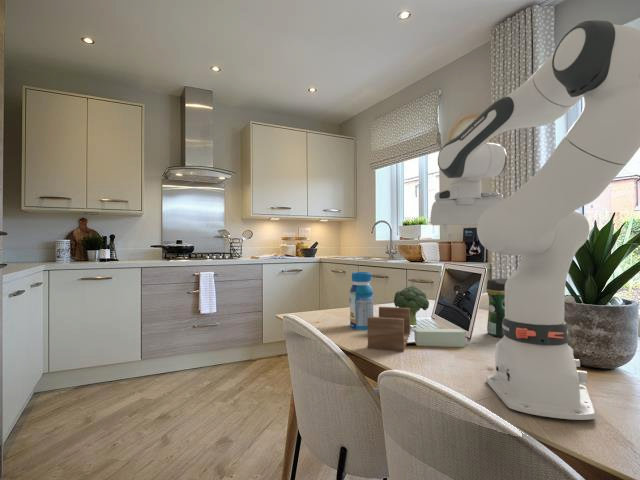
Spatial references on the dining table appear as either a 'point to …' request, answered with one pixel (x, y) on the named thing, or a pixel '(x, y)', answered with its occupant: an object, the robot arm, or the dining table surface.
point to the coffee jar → (496, 306)
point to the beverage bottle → (361, 300)
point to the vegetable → (411, 301)
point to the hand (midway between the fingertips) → (465, 240)
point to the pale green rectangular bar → (440, 337)
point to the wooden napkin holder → (389, 329)
